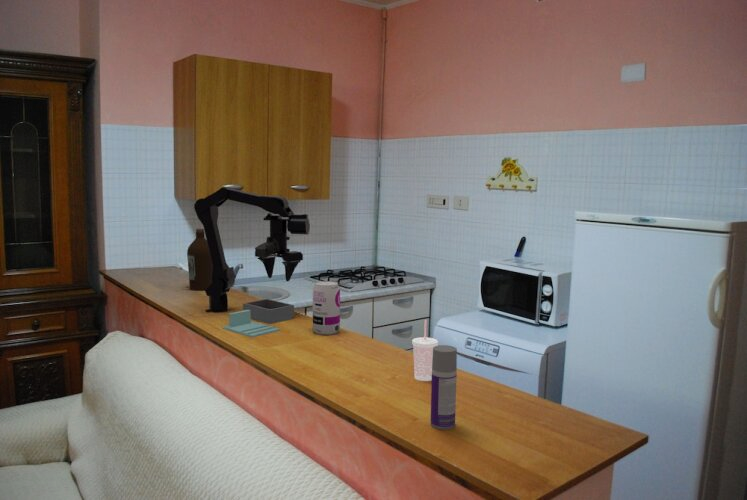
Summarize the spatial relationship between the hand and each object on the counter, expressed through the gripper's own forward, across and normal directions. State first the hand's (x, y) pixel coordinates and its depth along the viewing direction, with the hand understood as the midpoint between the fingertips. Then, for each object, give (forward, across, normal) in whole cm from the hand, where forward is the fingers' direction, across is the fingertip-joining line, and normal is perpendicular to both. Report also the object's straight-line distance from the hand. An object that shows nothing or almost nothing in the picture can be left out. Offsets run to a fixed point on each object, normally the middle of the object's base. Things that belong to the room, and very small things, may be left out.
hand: (278, 279), depth 197 cm
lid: (+12, +11, -20) cm, 26 cm away
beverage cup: (+12, +74, -18) cm, 77 cm away
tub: (+12, +3, -7) cm, 14 cm away
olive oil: (+12, -58, +7) cm, 60 cm away
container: (+12, +92, -37) cm, 100 cm away
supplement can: (+12, +28, -5) cm, 31 cm away
